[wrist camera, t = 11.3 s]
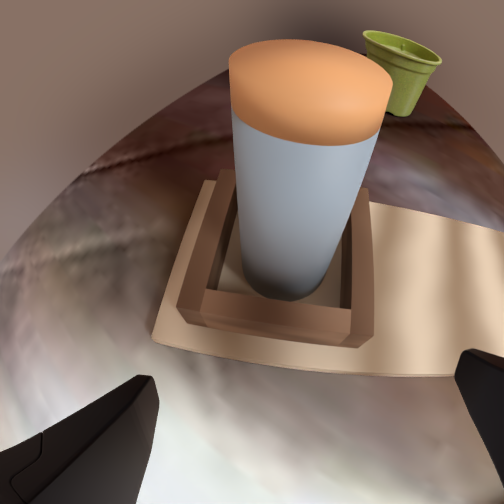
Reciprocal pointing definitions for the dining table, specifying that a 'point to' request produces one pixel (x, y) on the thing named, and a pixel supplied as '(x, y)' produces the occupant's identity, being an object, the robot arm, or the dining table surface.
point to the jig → (341, 294)
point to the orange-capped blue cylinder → (300, 155)
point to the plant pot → (401, 67)
